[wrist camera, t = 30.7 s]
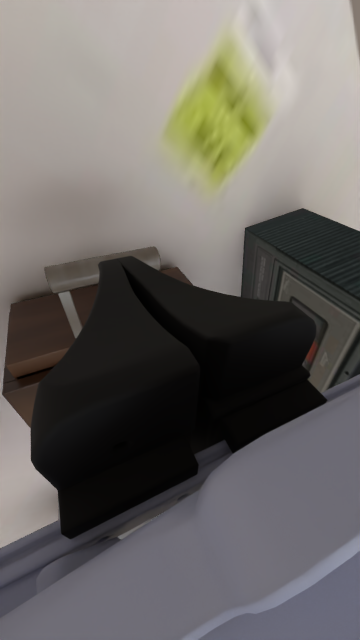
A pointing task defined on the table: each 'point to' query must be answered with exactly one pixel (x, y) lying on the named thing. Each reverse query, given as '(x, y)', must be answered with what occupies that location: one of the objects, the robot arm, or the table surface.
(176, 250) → the table surface
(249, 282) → the cassette player
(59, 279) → the drawer
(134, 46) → the table surface
